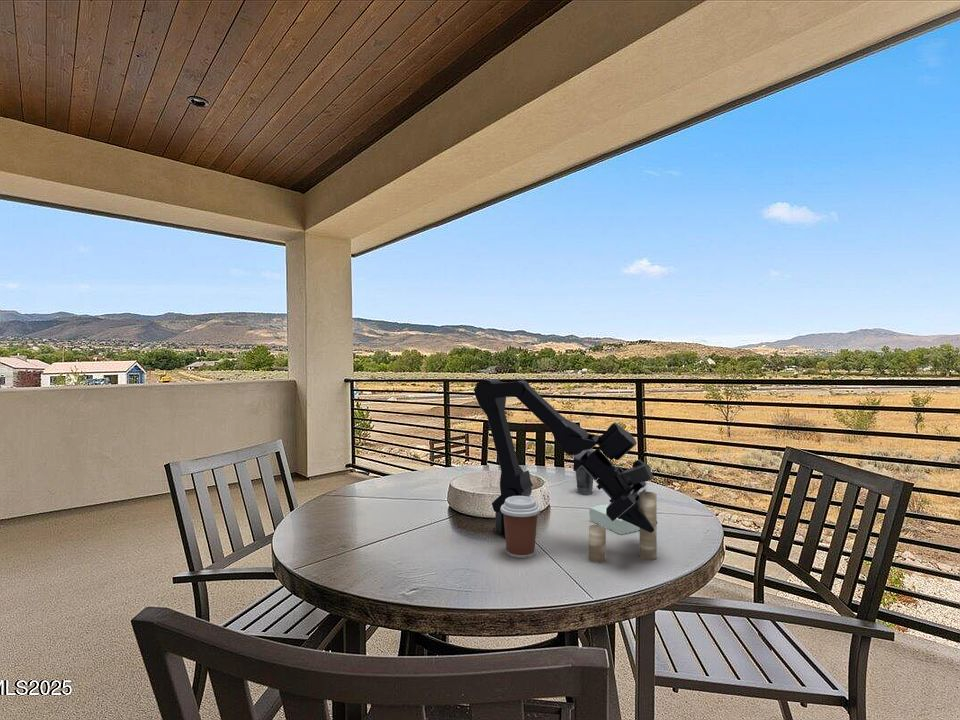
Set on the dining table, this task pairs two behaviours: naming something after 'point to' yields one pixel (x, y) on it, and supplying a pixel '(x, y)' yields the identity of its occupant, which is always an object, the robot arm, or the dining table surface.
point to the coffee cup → (520, 525)
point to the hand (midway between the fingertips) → (654, 528)
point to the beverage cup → (584, 477)
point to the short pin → (597, 543)
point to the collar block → (610, 521)
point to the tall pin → (650, 511)
